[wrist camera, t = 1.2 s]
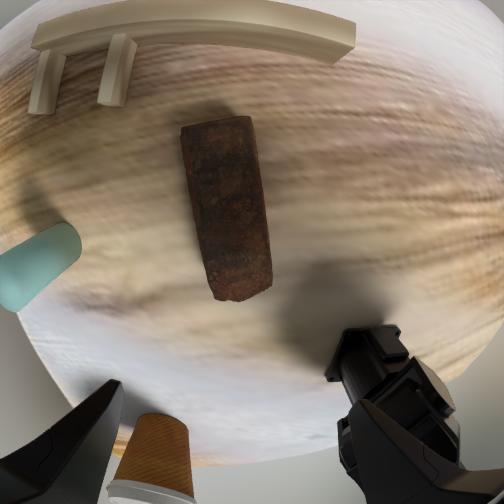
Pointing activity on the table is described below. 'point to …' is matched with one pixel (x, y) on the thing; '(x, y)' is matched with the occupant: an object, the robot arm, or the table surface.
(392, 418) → the robot arm
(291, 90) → the table surface
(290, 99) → the table surface
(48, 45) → the backstop fence
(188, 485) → the disposable coffee cup
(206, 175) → the brick
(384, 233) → the table surface
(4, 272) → the dowel
